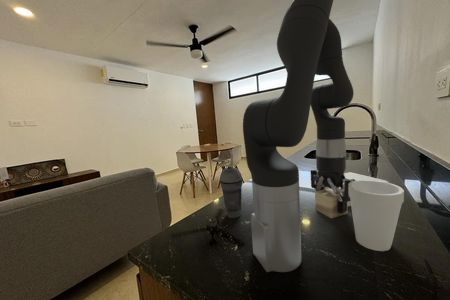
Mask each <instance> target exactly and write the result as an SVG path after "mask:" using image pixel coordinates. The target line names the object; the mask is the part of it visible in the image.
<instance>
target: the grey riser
mask: <svg viewBox="0 0 450 300" xmlns="http://www.w3.org/2000/svg"><path fill="white" fill-rule="evenodd" d="M344 176H345V178H347V179H354V180H355V181H358V180H373V181H382V182H386V183H390V181H388V180H384V179H382V178H377V177H376V178H375V177H372V176H368V175H363V174H359V173H356V172H351V171H349V172H344ZM315 184H316V181H315ZM343 184H344V183H343ZM325 189H329V187H326V188H325ZM325 189H324V190H325ZM337 189H338V190H340V187H339V188H337ZM315 192H316V190H315V189H314V193H315ZM348 207H351V201H349V202H347V208H348Z"/></svg>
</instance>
